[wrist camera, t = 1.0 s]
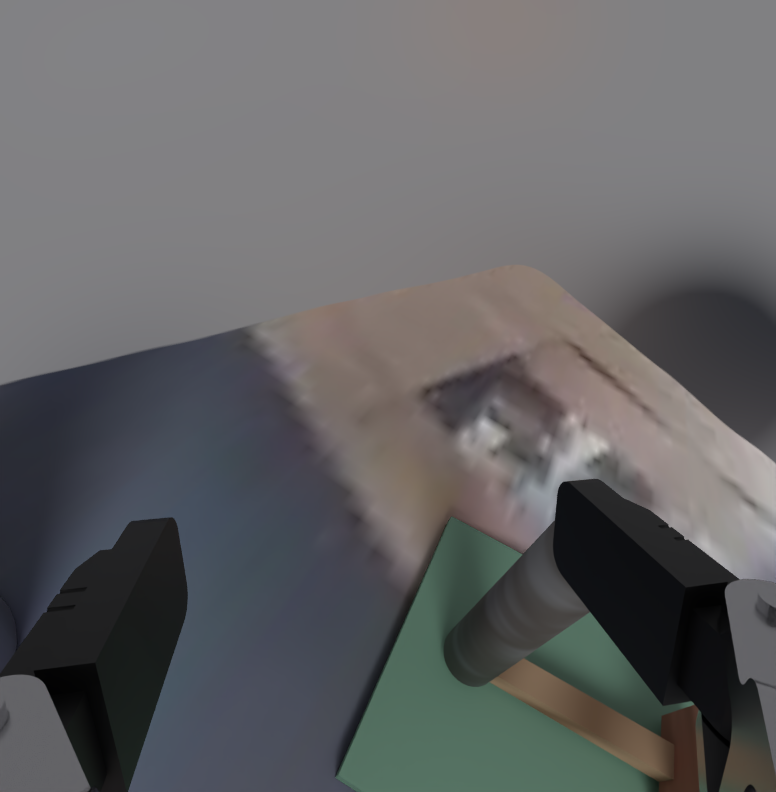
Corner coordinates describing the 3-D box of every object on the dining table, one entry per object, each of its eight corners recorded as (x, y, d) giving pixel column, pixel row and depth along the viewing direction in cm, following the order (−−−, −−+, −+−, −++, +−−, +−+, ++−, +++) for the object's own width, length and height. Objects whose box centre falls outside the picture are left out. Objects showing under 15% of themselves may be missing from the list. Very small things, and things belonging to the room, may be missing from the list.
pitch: (335, 777, 24) (338, 775, 23) (447, 522, 35) (451, 516, 34) (1111, 1288, 19) (1146, 1305, 18) (954, 798, 30) (972, 797, 29)
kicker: (429, 683, 26) (533, 588, 17) (459, 600, 30) (560, 484, 20) (697, 845, 24) (987, 837, 15) (696, 735, 27) (930, 673, 18)
